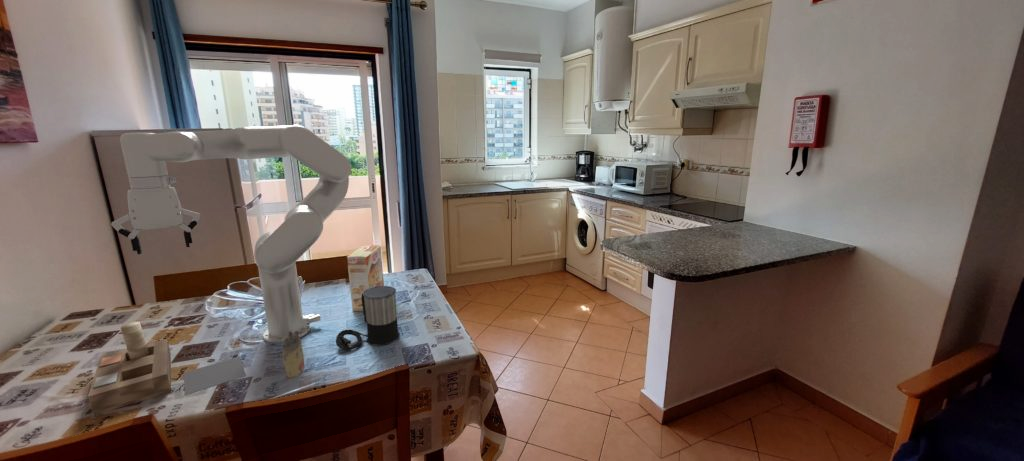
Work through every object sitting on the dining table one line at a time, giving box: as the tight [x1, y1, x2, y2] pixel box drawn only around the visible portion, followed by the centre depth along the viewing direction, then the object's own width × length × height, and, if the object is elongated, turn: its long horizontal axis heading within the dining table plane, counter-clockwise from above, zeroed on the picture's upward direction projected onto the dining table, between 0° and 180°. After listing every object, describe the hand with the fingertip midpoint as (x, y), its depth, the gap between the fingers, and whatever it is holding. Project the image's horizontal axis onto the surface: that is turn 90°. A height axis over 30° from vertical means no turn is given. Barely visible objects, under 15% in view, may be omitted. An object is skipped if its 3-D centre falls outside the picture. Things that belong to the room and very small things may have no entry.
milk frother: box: [335, 285, 400, 351], centre depth 117 cm, size 14×16×15 cm
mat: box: [183, 356, 247, 396], centre depth 103 cm, size 12×12×1 cm
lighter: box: [281, 331, 305, 378], centre depth 103 cm, size 7×4×10 cm, turn 14°
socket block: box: [87, 338, 172, 418], centre depth 100 cm, size 13×22×5 cm, turn 39°
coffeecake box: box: [346, 244, 385, 312], centre depth 144 cm, size 15×7×20 cm, turn 179°
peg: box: [120, 321, 149, 360], centre depth 103 cm, size 4×4×12 cm
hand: (164, 249), depth 105 cm, fingers open, 9 cm apart
